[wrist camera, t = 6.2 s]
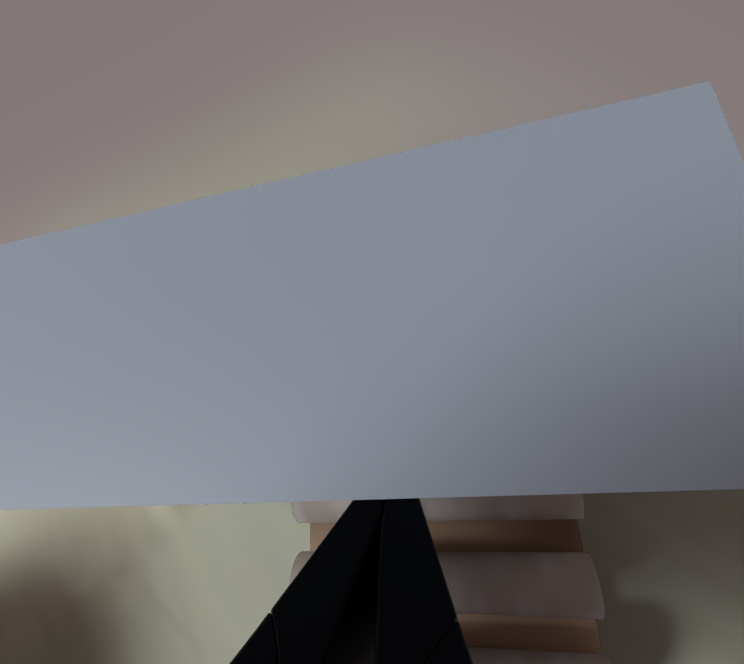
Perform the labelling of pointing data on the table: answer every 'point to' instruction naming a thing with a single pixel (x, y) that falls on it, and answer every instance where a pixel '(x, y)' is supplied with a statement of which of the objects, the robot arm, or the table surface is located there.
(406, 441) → the slab
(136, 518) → the table surface
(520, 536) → the roller track
